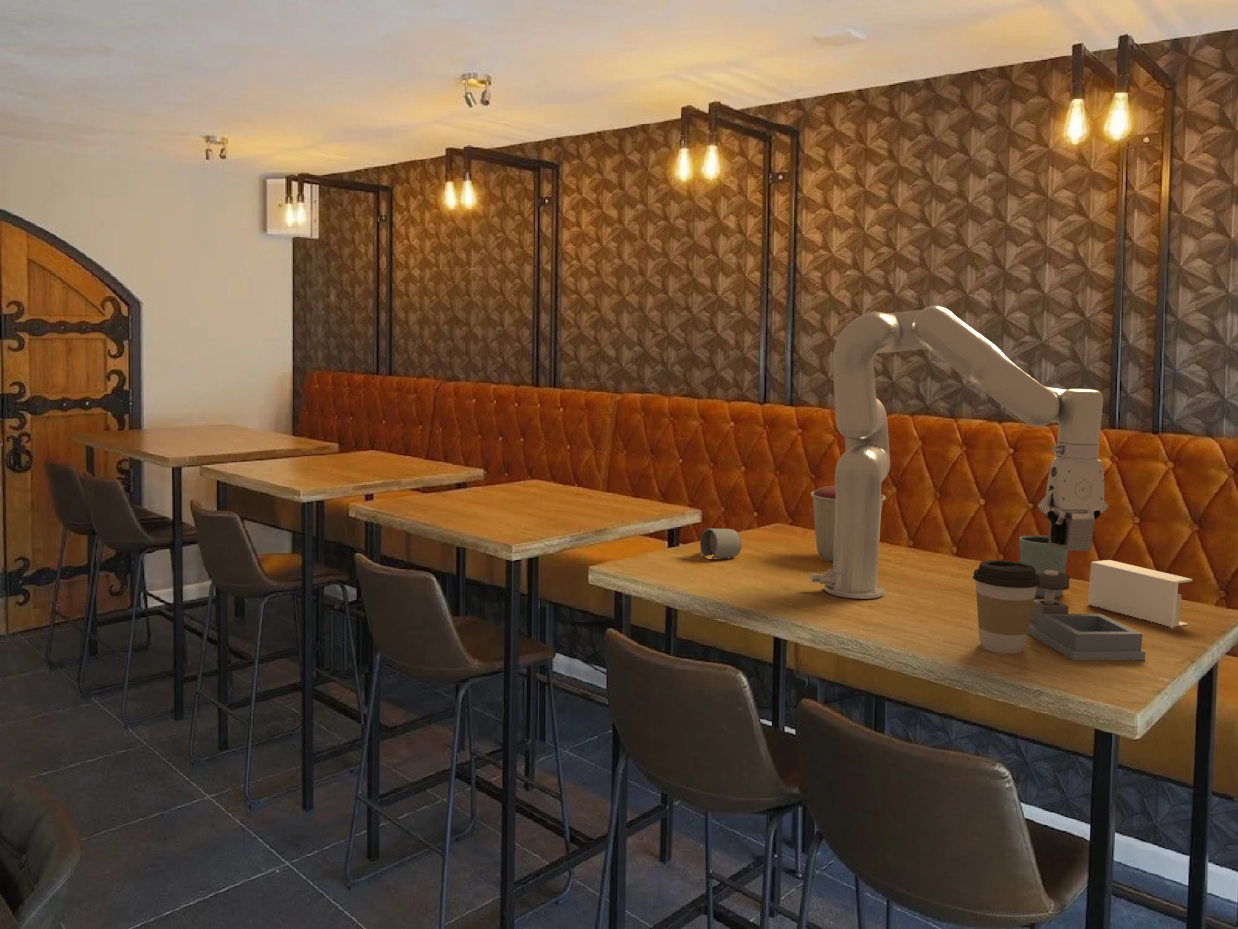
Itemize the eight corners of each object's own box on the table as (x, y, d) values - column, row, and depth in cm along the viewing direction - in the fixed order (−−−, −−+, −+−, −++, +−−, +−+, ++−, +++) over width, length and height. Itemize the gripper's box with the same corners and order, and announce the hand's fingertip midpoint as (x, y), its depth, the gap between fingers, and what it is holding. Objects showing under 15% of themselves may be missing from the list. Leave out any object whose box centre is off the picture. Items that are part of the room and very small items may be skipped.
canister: (793, 555, 256) (797, 472, 253) (853, 550, 263) (857, 470, 260) (835, 570, 239) (839, 482, 236) (897, 565, 246) (902, 480, 243)
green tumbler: (1070, 600, 216) (1074, 544, 215) (1020, 596, 218) (1024, 542, 217) (1059, 588, 226) (1063, 536, 225) (1011, 585, 228) (1015, 533, 227)
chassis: (1073, 660, 174) (1075, 629, 173) (1013, 624, 196) (1014, 596, 195) (1144, 660, 175) (1147, 629, 175) (1077, 624, 197) (1079, 596, 196)
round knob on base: (1041, 611, 188) (1043, 575, 187) (1024, 602, 194) (1026, 567, 193) (1073, 611, 188) (1076, 575, 187) (1056, 602, 195) (1059, 567, 194)
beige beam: (1188, 626, 198) (1193, 579, 197) (1170, 629, 196) (1175, 581, 194) (1099, 601, 216) (1103, 558, 215) (1082, 604, 213) (1085, 560, 212)
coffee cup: (1019, 639, 186) (1025, 559, 184) (1047, 658, 175) (1053, 573, 173) (958, 638, 186) (963, 558, 184) (982, 657, 175) (988, 572, 173)
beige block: (1068, 550, 196) (1071, 514, 196) (1048, 543, 203) (1051, 508, 202) (1091, 550, 197) (1094, 514, 196) (1070, 543, 204) (1073, 508, 203)
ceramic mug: (743, 559, 249) (744, 528, 248) (716, 562, 245) (717, 531, 244) (718, 552, 258) (719, 522, 257) (691, 554, 254) (692, 524, 253)
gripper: (1049, 454, 192) (1042, 548, 195) (1128, 454, 196) (1120, 546, 198) (1026, 449, 200) (1020, 540, 202) (1103, 450, 203) (1095, 539, 205)
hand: (1069, 542), depth 200 cm, fingers closed on beige block, 5 cm apart
